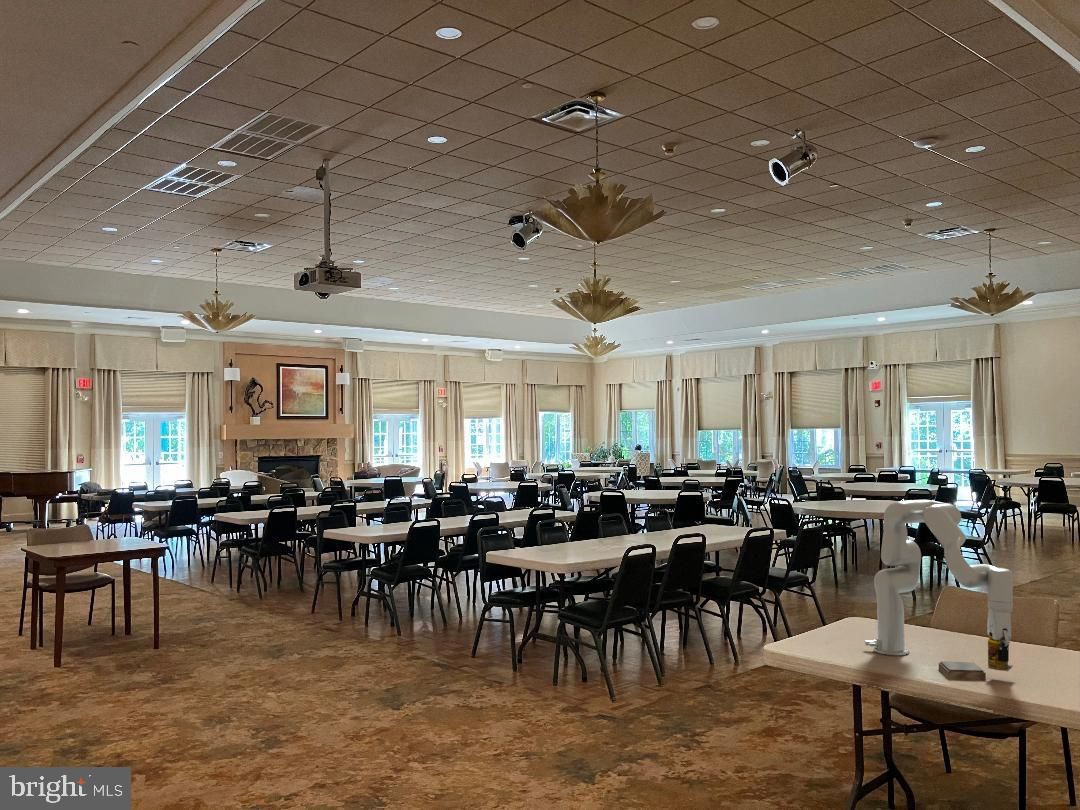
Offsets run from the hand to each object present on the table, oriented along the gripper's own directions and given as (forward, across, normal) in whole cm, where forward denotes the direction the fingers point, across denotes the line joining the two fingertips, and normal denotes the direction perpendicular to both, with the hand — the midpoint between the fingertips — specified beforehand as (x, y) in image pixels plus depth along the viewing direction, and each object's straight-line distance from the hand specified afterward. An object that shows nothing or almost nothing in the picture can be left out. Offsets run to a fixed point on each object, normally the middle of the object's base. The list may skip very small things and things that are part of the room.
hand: (999, 657), depth 307 cm
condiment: (+4, -1, 0) cm, 4 cm away
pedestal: (+8, -6, -10) cm, 14 cm away
